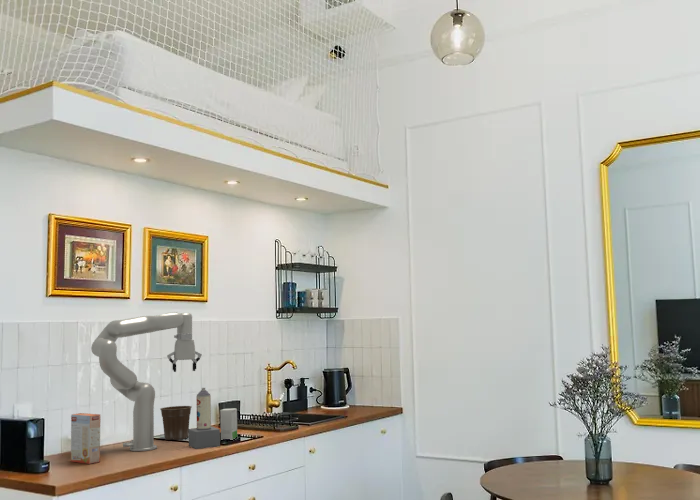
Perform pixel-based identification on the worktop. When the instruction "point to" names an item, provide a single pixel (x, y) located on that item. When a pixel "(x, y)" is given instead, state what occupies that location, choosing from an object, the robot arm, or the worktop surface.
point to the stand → (204, 438)
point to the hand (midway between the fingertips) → (184, 371)
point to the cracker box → (85, 438)
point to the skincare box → (228, 423)
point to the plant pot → (176, 422)
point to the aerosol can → (203, 410)
